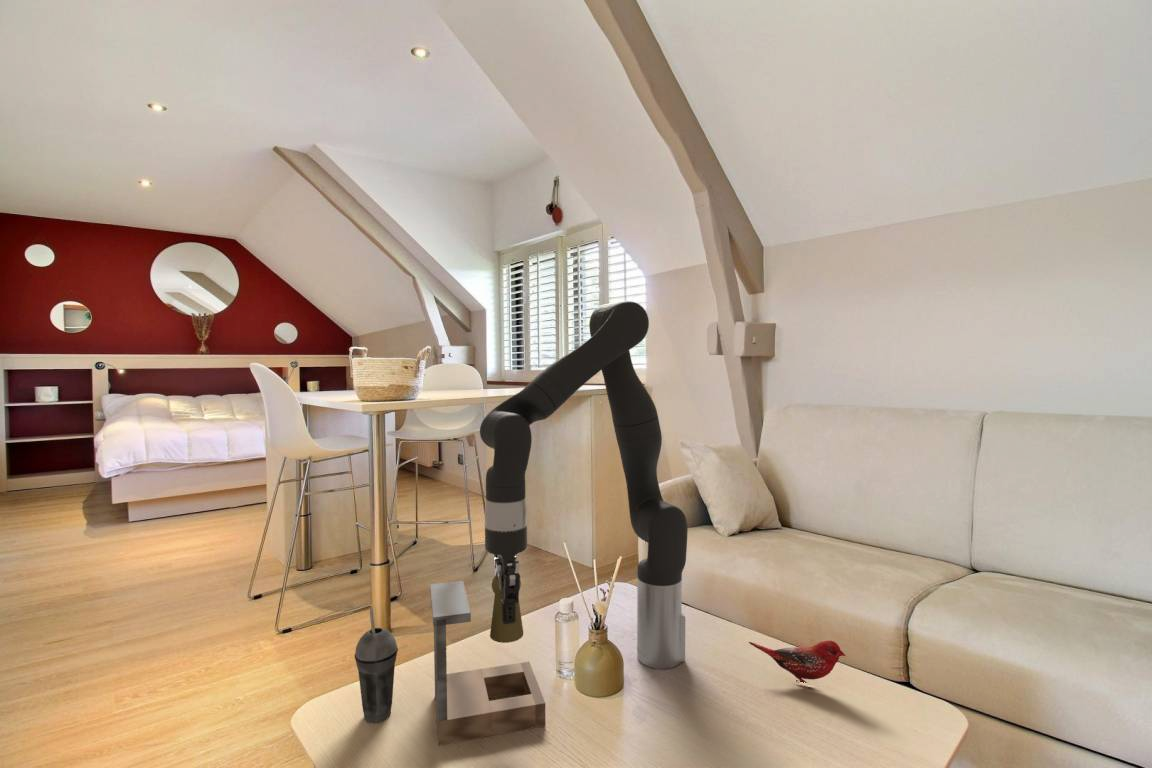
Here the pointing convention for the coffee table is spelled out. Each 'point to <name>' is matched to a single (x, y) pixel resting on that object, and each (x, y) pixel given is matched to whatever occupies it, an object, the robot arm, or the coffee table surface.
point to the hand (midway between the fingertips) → (506, 616)
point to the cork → (498, 628)
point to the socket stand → (477, 682)
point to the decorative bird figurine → (806, 659)
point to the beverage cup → (376, 672)
